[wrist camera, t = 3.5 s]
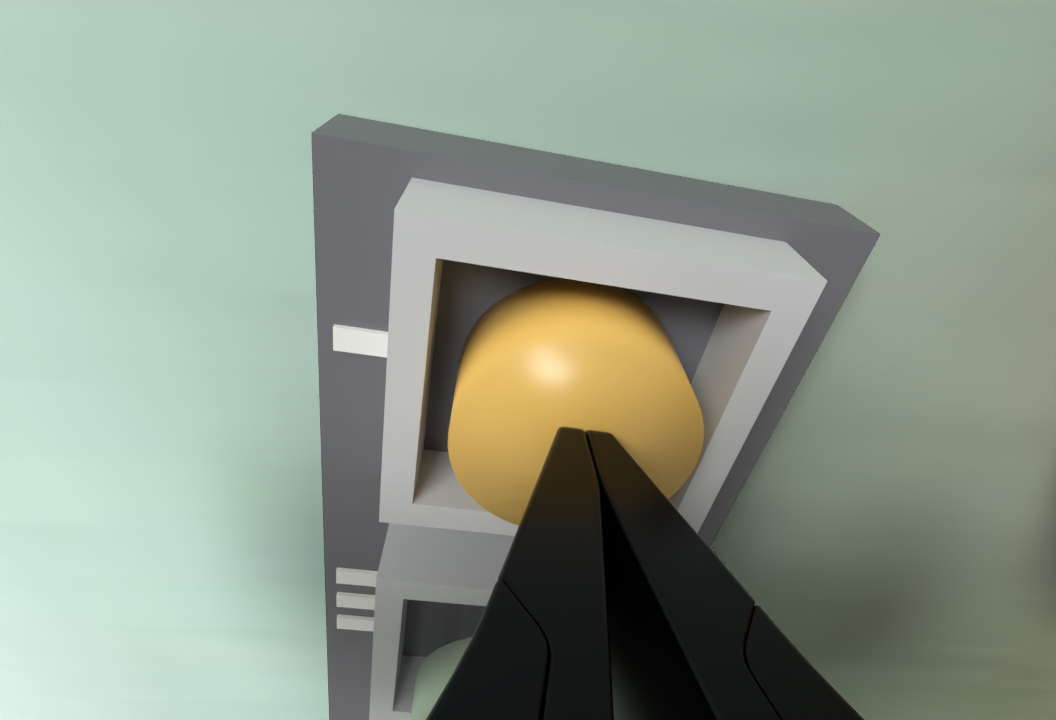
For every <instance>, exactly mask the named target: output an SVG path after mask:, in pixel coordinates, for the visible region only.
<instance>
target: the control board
mask: <svg viewBox="0 0 1056 720" xmlns="http://www.w3.org/2000/svg"><path fill="white" fill-rule="evenodd" d="M312 164H313V197H314V230H315V263H316V297H317V330H318V363H319V396H320V429H321V462H322V495H323V528H324V561H325V594H326V627H327V660H328V693H329V720H410V716H411V709H412V703H413V696H414V689H415V682H416V675H417V671H418V668H419V667H420V665H421V663H422V662H423V661H424V659H425V658H426V657H427V656H429V655H430V654H431V653H432V652H434V651H435V650H437V649H438V648H440V647H442V646H445V645H447V644H449V643H452V642H455V641H457V640H461V639H465V638H469V637H473V634H474V632H475V630H476V628H477V625H478V623H479V621H480V619H481V617H482V614H483V612H484V610H485V608H486V605H487V603H488V601H489V598H490V596H491V593H492V591H493V588H494V586H495V583H496V582H497V580H498V577H499V574H500V572H501V569H502V567H503V564H504V562H505V559H506V557H507V554H508V552H509V549H510V547H511V544H512V542H513V539H514V537H515V534H516V532H517V529H518V527H519V526H518V525H515V524H512V523H509V522H507V521H505V520H503V519H501V518H499V517H497V516H495V515H493V514H492V513H490V512H489V511H487V510H485V509H484V508H483V507H482V506H480V505H479V504H478V503H477V502H475V501H474V500H473V499H472V498H471V497H470V495H469V494H468V493H467V492H466V491H465V490H464V488H463V487H462V486H461V484H460V483H459V481H458V479H457V477H456V475H455V473H454V471H453V469H452V465H451V462H450V459H449V452H448V432H449V425H450V419H451V412H452V406H453V399H454V393H455V386H456V380H457V373H458V367H459V361H460V356H461V351H462V348H463V345H464V343H465V340H466V338H467V336H468V334H469V332H470V331H471V329H472V327H473V326H474V324H475V323H476V322H477V321H478V319H479V318H480V317H481V316H482V315H483V314H484V313H485V312H486V311H487V310H488V309H489V308H490V307H491V306H492V305H494V304H495V303H496V302H498V301H499V300H500V299H502V298H503V297H505V296H507V295H508V294H510V293H512V292H514V291H516V290H518V289H521V288H523V287H526V286H528V285H531V284H534V283H538V282H542V281H546V280H553V279H560V278H565V279H572V280H578V281H584V282H591V283H597V284H603V285H610V286H616V287H620V288H622V289H624V290H626V291H628V292H629V293H631V294H633V295H635V296H636V297H637V298H639V299H640V300H642V301H643V302H644V303H646V304H647V305H648V306H649V307H650V308H651V309H652V310H653V311H654V312H655V314H656V315H657V316H658V317H659V319H660V320H661V321H662V323H663V325H664V327H665V329H666V330H667V332H668V334H669V337H670V339H671V341H672V344H673V346H674V348H675V350H676V353H677V355H678V357H679V360H680V362H681V364H682V366H683V369H684V371H685V373H686V375H687V378H688V380H689V382H690V385H691V387H692V389H693V391H694V394H695V396H696V398H697V400H698V403H699V406H700V409H701V412H702V416H703V423H704V440H703V445H702V450H701V454H700V456H699V459H698V462H697V464H696V466H695V468H694V470H693V471H692V473H691V475H690V476H689V478H688V479H687V480H686V482H685V483H684V484H683V486H682V487H681V488H680V489H679V490H678V491H677V492H676V493H675V494H674V495H673V496H672V497H671V498H669V499H668V500H669V501H670V502H671V503H672V505H673V506H674V507H675V508H676V509H677V510H678V512H679V513H680V514H681V515H682V516H683V517H684V519H685V520H686V521H687V522H688V523H689V524H690V526H691V527H692V528H693V529H694V530H695V531H696V533H697V534H698V535H699V536H700V537H701V538H702V540H703V541H704V542H705V543H706V544H707V545H708V547H709V548H710V546H711V544H712V542H713V541H714V539H715V537H716V535H717V533H718V531H719V530H720V528H721V526H722V524H723V522H724V520H725V519H726V517H727V515H728V513H729V511H730V509H731V508H732V506H733V504H734V502H735V500H736V498H737V497H738V495H739V493H740V491H741V489H742V487H743V486H744V484H745V482H746V480H747V478H748V476H749V475H750V473H751V471H752V469H753V467H754V465H755V463H756V462H757V460H758V458H759V456H760V454H761V452H762V451H763V449H764V447H765V445H766V443H767V441H768V440H769V438H770V436H771V434H772V432H773V430H774V429H775V427H776V425H777V423H778V421H779V419H780V418H781V416H782V414H783V412H784V410H785V408H786V407H787V405H788V403H789V401H790V399H791V397H792V396H793V394H794V392H795V390H796V388H797V386H798V385H799V383H800V381H801V379H802V377H803V375H804V374H805V372H806V370H807V368H808V366H809V364H810V363H811V361H812V359H813V357H814V355H815V353H816V352H817V350H818V348H819V346H820V344H821V342H822V341H823V339H824V337H825V335H826V333H827V331H828V330H829V328H830V326H831V324H832V322H833V320H834V319H835V317H836V315H837V313H838V311H839V309H840V308H841V306H842V304H843V302H844V300H845V298H846V297H847V295H848V293H849V291H850V289H851V287H852V286H853V284H854V282H855V280H856V278H857V276H858V275H859V273H860V271H861V269H862V267H863V265H864V264H865V262H866V260H867V258H868V256H869V254H870V253H871V251H872V249H873V247H874V245H875V243H876V242H877V240H878V238H879V236H880V233H878V232H877V231H875V230H874V229H872V228H871V227H869V226H868V225H866V224H865V223H863V222H862V221H860V220H859V219H857V218H856V217H854V216H853V215H851V214H850V213H848V212H847V211H845V210H844V209H843V208H841V207H840V206H838V205H834V204H829V203H823V202H818V201H812V200H807V199H801V198H796V197H790V196H785V195H779V194H774V193H768V192H763V191H757V190H752V189H746V188H741V187H735V186H730V185H724V184H719V183H714V182H708V181H703V180H697V179H692V178H686V177H681V176H675V175H670V174H664V173H659V172H653V171H648V170H642V169H637V168H631V167H626V166H620V165H615V164H609V163H604V162H599V161H593V160H588V159H582V158H577V157H571V156H566V155H560V154H555V153H549V152H544V151H538V150H533V149H527V148H522V147H516V146H511V145H505V144H500V143H494V142H489V141H484V140H478V139H473V138H467V137H462V136H456V135H451V134H445V133H440V132H434V131H429V130H423V129H418V128H412V127H407V126H401V125H396V124H390V123H385V122H379V121H374V120H369V119H363V118H358V117H352V116H347V115H341V114H338V115H336V116H335V117H333V118H332V119H331V120H329V121H328V122H326V123H325V124H323V125H322V126H321V127H319V128H318V129H316V130H315V131H313V132H312Z"/></svg>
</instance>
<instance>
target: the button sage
mask: <svg viewBox="0 0 1056 720" xmlns="http://www.w3.org/2000/svg"><path fill="white" fill-rule="evenodd" d="M471 639H472V637H469V638H465V639H461V640H457V641H455V642H452V643H449V644H447V645H445V646H442V647H440V648H438V649H437V650H435V651H434V652H432V653H431V654H430V655H429V656H427V657H426V658H425V659H424V661H423V662H422V663H421V665H420V667H419V668H418V671H417V675H416V682H415V689H414V696H413V703H412V709H411V716H410V720H426V718H427V717H428V715H429V713H430V711H431V710H432V708H433V706H434V705H435V703H436V701H437V700H438V698H439V696H440V694H441V693H442V691H443V689H444V688H445V686H446V684H447V683H448V681H449V679H450V677H451V676H452V674H453V672H454V670H455V668H456V666H457V665H458V663H459V661H460V659H461V657H462V655H463V654H464V652H465V650H466V648H467V646H468V644H469V643H470V641H471Z"/></svg>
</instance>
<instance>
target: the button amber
mask: <svg viewBox="0 0 1056 720" xmlns="http://www.w3.org/2000/svg"><path fill="white" fill-rule="evenodd" d="M559 427H570V428H578V429H582V430H583V431H585V432H586V431H588V430H594V431H602V432H608V433H611V434H612V435H613V436H614V437H615V438H616V439H617V440H618V441H619V442H620V444H621V445H622V446H623V447H624V448H625V450H626V451H627V452H628V453H629V454H630V455H631V457H632V458H633V459H634V460H635V461H636V462H637V464H638V465H639V466H640V467H641V468H642V469H643V471H644V472H645V473H646V474H647V475H648V476H649V478H650V479H651V480H652V481H653V482H654V483H655V485H656V486H657V487H658V488H659V489H660V490H661V492H662V493H663V494H664V495H665V496H666V497H667V499H669V498H671V497H672V496H673V495H674V494H675V493H676V492H677V491H678V490H679V489H680V488H681V487H682V486H683V484H684V483H685V482H686V480H687V479H688V478H689V476H690V475H691V473H692V471H693V470H694V468H695V466H696V464H697V462H698V459H699V456H700V454H701V450H702V445H703V440H704V423H703V416H702V412H701V409H700V406H699V403H698V400H697V398H696V396H695V394H694V391H693V389H692V387H691V385H690V382H689V380H688V378H687V375H686V373H685V371H684V369H683V366H682V364H681V362H680V360H679V357H678V355H677V353H676V350H675V348H674V346H673V344H672V341H671V339H670V337H669V334H668V332H667V330H666V329H665V327H664V325H663V323H662V321H661V320H660V319H659V317H658V316H657V315H656V314H655V312H654V311H653V310H652V309H651V308H650V307H649V306H648V305H647V304H646V303H644V302H643V301H642V300H640V299H639V298H637V297H636V296H635V295H633V294H631V293H629V292H628V291H626V290H624V289H622V288H620V287H616V286H610V285H603V284H597V283H591V282H584V281H578V280H572V279H565V278H560V279H553V280H546V281H542V282H538V283H534V284H531V285H528V286H526V287H523V288H521V289H518V290H516V291H514V292H512V293H510V294H508V295H507V296H505V297H503V298H502V299H500V300H499V301H498V302H496V303H495V304H494V305H492V306H491V307H490V308H489V309H488V310H487V311H486V312H485V313H484V314H483V315H482V316H481V317H480V318H479V319H478V321H477V322H476V323H475V324H474V326H473V327H472V329H471V331H470V332H469V334H468V336H467V338H466V340H465V343H464V345H463V348H462V351H461V356H460V361H459V367H458V373H457V380H456V386H455V393H454V399H453V406H452V412H451V419H450V425H449V432H448V452H449V459H450V462H451V465H452V469H453V471H454V473H455V475H456V477H457V479H458V481H459V483H460V484H461V486H462V487H463V488H464V490H465V491H466V492H467V493H468V494H469V495H470V497H471V498H472V499H473V500H474V501H475V502H477V503H478V504H479V505H480V506H482V507H483V508H484V509H485V510H487V511H489V512H490V513H492V514H493V515H495V516H497V517H499V518H501V519H503V520H505V521H507V522H509V523H512V524H515V525H518V526H519V524H520V522H521V519H522V517H523V514H524V512H525V509H526V507H527V504H528V502H529V499H530V497H531V495H532V492H533V490H534V487H535V485H536V482H537V480H538V477H539V475H540V472H541V470H542V467H543V465H544V462H545V460H546V457H547V455H548V452H549V450H550V447H551V445H552V442H553V440H554V437H555V435H556V432H557V430H558V428H559Z"/></svg>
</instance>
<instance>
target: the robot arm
mask: <svg viewBox="0 0 1056 720" xmlns="http://www.w3.org/2000/svg"><path fill="white" fill-rule="evenodd" d="M754 605H755V601H754V599H753V598H752V597H751V596H750V595H749V593H748V592H747V591H746V590H745V589H744V588H743V586H742V585H741V584H740V583H739V582H738V581H737V579H736V578H735V577H734V576H733V575H732V574H731V572H730V571H729V570H728V569H727V568H726V567H725V565H724V564H723V563H722V562H721V561H720V560H719V558H718V557H717V556H716V555H715V554H714V553H713V551H712V550H711V549H710V548H709V547H708V545H707V544H706V543H705V542H704V541H703V540H702V538H701V537H700V536H699V535H698V534H697V533H696V531H695V530H694V529H693V528H692V527H691V526H690V524H689V523H688V522H687V521H686V520H685V519H684V517H683V516H682V515H681V514H680V513H679V512H678V510H677V509H676V508H675V507H674V506H673V505H672V503H671V502H670V501H669V500H668V499H667V497H666V496H665V495H664V494H663V493H662V492H661V490H660V489H659V488H658V487H657V486H656V485H655V483H654V482H653V481H652V480H651V479H650V478H649V476H648V475H647V474H646V473H645V472H644V471H643V469H642V468H641V467H640V466H639V465H638V464H637V462H636V461H635V460H634V459H633V458H632V457H631V455H630V454H629V453H628V452H627V451H626V450H625V448H624V447H623V446H622V445H621V444H620V442H619V441H618V440H617V439H616V438H615V437H614V436H613V435H612V434H611V433H608V432H602V431H594V430H588V431H586V432H585V431H583V430H582V429H578V428H570V427H559V428H558V430H557V432H556V435H555V437H554V440H553V442H552V445H551V447H550V450H549V452H548V455H547V457H546V460H545V462H544V465H543V467H542V470H541V472H540V475H539V477H538V480H537V482H536V485H535V487H534V490H533V492H532V495H531V497H530V499H529V502H528V504H527V507H526V509H525V512H524V514H523V517H522V519H521V522H520V524H519V527H518V529H517V532H516V534H515V537H514V539H513V542H512V544H511V547H510V549H509V552H508V554H507V557H506V559H505V562H504V564H503V567H502V569H501V572H500V574H499V577H498V580H497V582H496V583H495V586H494V588H493V591H492V593H491V596H490V598H489V601H488V603H487V605H486V608H485V610H484V612H483V614H482V617H481V619H480V621H479V623H478V625H477V628H476V630H475V632H474V634H473V637H472V639H471V641H470V643H469V644H468V646H467V648H466V650H465V652H464V654H463V655H462V657H461V659H460V661H459V663H458V665H457V666H456V668H455V670H454V672H453V674H452V676H451V677H450V679H449V681H448V683H447V684H446V686H445V688H444V689H443V691H442V693H441V694H440V696H439V698H438V700H437V701H436V703H435V705H434V706H433V708H432V710H431V711H430V713H429V715H428V717H427V718H426V720H864V719H863V718H862V717H861V716H860V715H859V714H858V713H857V712H856V711H855V710H854V709H853V708H852V707H851V706H850V705H849V704H848V703H847V702H846V701H845V700H844V699H843V698H842V697H841V696H840V695H839V693H838V692H837V691H836V690H835V689H834V688H833V687H832V686H831V685H830V684H829V683H828V682H827V681H826V680H825V679H824V678H823V677H822V676H821V675H820V674H819V673H818V672H817V671H816V669H815V668H814V667H813V666H812V665H811V664H810V663H809V662H808V661H807V660H806V659H805V658H804V656H803V655H802V654H801V653H800V652H799V651H798V650H797V649H796V647H795V646H794V645H793V644H792V643H791V642H790V641H789V640H788V638H787V637H786V636H785V635H784V634H783V633H782V632H781V631H780V629H779V628H778V627H777V626H776V625H775V624H774V622H773V621H772V620H771V619H770V618H769V617H768V615H767V614H766V613H765V612H764V611H763V610H762V608H761V607H760V606H758V605H756V606H754Z"/></svg>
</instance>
